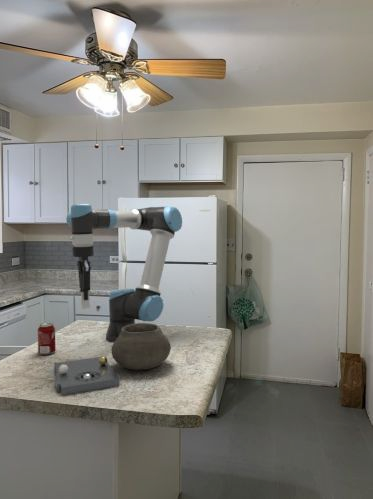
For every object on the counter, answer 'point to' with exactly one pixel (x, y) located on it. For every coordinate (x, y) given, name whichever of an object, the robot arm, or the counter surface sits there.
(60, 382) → the grey flat block
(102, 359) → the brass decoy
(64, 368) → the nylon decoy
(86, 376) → the steel ball
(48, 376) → the counter surface
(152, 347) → the clay pot
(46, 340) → the soda can
